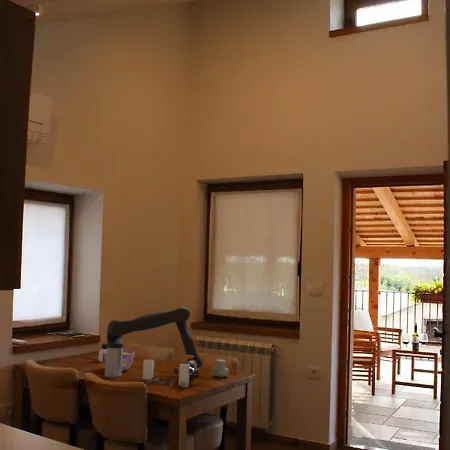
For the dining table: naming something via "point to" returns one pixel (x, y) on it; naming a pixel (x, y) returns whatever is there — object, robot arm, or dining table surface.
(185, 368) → the block
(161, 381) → the pallet
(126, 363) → the bowl of food
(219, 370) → the air freshener
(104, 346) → the medicine bottle
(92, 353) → the dining table surface
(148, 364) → the block
